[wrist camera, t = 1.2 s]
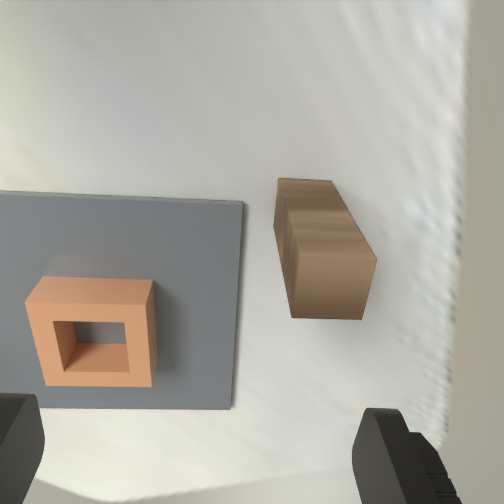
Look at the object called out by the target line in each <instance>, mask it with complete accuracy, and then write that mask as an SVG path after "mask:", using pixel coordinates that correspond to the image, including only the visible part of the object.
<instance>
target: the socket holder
mask: <svg viewBox="0 0 504 504" xmlns="http://www.w3.org/2000/svg"><path fill="white" fill-rule="evenodd" d="M242 211H243V201H222V200H200V199H178V198H155V197H133V196H111V195H89V194H66V193H44V192H22V191H0V393H22V394H35V395H36V397H37V401H38V406H39V408H83V409H192V410H230V407H231V391H232V374H233V358H234V342H235V325H236V309H237V293H238V276H239V260H240V243H241V227H242Z"/></svg>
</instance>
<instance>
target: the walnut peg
mask: <svg viewBox="0 0 504 504" xmlns="http://www.w3.org/2000/svg"><path fill="white" fill-rule="evenodd" d="M274 231H275V236H276V241H277V246H278V251H279V256H280V261H281V266H282V272H283V277H284V282H285V287H286V292H287V297H288V302H289V307H290V312H291V317H292V318H310V319H350V320H362V317H363V313H364V309H365V305H366V301H367V297H368V293H369V289H370V285H371V281H372V278H373V274H374V270H375V266H376V262H377V258H376V256H375V255H374V253H373V251H372V250H371V248H370V246H369V245H368V243H367V241H366V239H365V238H364V236H363V234H362V233H361V231H360V229H359V227H358V226H357V224H356V222H355V221H354V219H353V217H352V215H351V214H350V212H349V210H348V209H347V207H346V205H345V203H344V202H343V200H342V198H341V197H340V195H339V193H338V191H337V190H336V188H335V186H334V185H333V183H332V181H328V180H308V179H288V178H278V188H277V197H276V207H275V216H274Z"/></svg>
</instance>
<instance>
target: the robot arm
mask: <svg viewBox="0 0 504 504" xmlns="http://www.w3.org/2000/svg"><path fill="white" fill-rule="evenodd" d="M44 444H45V436H44V430H43V425H42V420H41V416H40V411H39V406H38V401H37V397H36V395H35V394H22V393H0V504H22V503H23V501H24V499H25V496H26V494H27V492H28V489H29V487H30V485H31V483H32V480H33V478H34V476H35V473H36V471H37V469H38V467H39V464H40V462H41V459H42V455H43V451H44ZM352 465H353V472H354V476H355V479H356V483H357V487H358V490H359V494H360V498H361V501H362V504H462V503H461V501H460V499H459V497H457V495H456V490H455V488H454V486H453V484H452V482H451V480H450V479H449V478H448V474H447V471H446V469H445V467H444V465H443V463H442V461H441V459H440V457H439V455H438V452H437V451H436V450H435V449H434V448H433V447H432V445H431V444H430V443H429V442H428V441H427V440H426V439H425V438H424V436H423V435H422V434H421V433H418V432H409V430H408V427H407V425H406V423H405V421H404V418H403V416H402V414H401V413H400V411H399V410H397V409H386V408H367V409H366V410H365V412H364V414H363V417H362V420H361V423H360V426H359V429H358V432H357V435H356V438H355V441H354V444H353V449H352Z"/></svg>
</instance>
